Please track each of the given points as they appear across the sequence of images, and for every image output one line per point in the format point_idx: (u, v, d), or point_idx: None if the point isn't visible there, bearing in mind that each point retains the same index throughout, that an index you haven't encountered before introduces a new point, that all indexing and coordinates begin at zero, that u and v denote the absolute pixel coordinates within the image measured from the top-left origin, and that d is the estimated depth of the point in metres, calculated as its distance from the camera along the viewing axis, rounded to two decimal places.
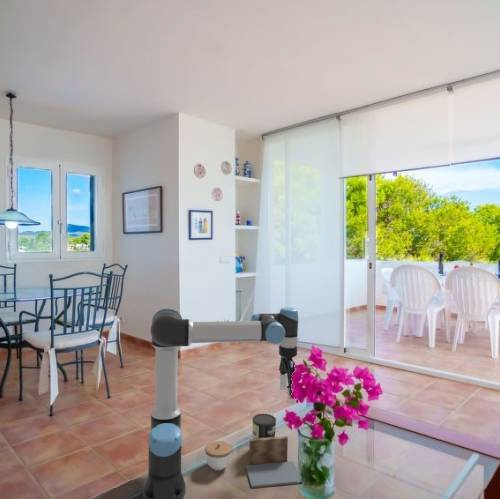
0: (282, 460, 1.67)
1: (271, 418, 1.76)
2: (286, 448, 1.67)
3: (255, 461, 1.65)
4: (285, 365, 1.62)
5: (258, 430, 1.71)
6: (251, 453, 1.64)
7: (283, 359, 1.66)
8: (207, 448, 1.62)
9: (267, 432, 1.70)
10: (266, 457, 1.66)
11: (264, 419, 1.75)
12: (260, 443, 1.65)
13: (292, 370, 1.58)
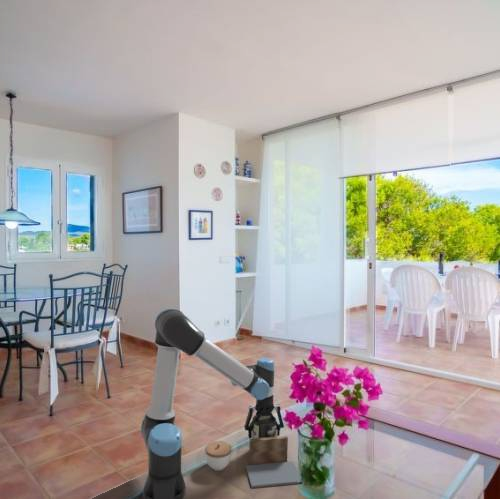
0: (282, 460, 1.67)
1: None
2: (286, 448, 1.67)
3: (255, 461, 1.65)
4: None
5: (258, 430, 1.71)
6: (251, 453, 1.64)
7: None
8: (207, 448, 1.62)
9: (267, 432, 1.70)
10: (266, 457, 1.66)
11: (264, 419, 1.75)
12: (260, 443, 1.65)
13: (248, 414, 1.73)
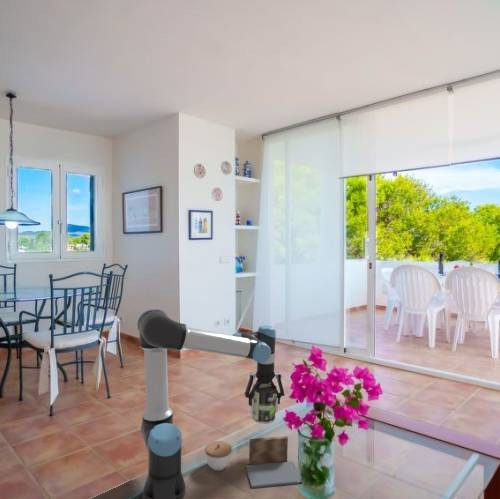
0: (282, 460, 1.67)
1: None
2: (286, 448, 1.67)
3: (255, 461, 1.65)
4: None
5: (259, 397, 1.70)
6: (251, 453, 1.64)
7: None
8: (207, 448, 1.62)
9: (267, 399, 1.69)
10: (266, 457, 1.66)
11: (264, 387, 1.74)
12: (260, 443, 1.65)
13: (249, 381, 1.73)
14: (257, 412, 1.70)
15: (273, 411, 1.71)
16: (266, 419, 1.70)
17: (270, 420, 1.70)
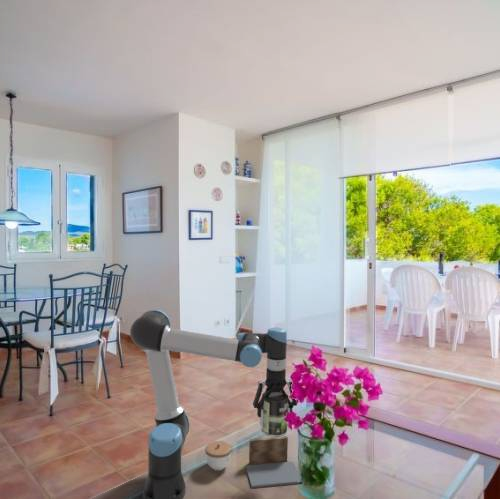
0: (282, 460, 1.67)
1: None
2: (286, 448, 1.67)
3: (255, 461, 1.65)
4: None
5: (269, 408, 1.52)
6: (251, 453, 1.64)
7: None
8: (207, 448, 1.62)
9: (278, 410, 1.52)
10: (266, 457, 1.66)
11: (275, 396, 1.56)
12: (260, 443, 1.65)
13: (258, 390, 1.55)
14: (267, 424, 1.53)
15: (285, 423, 1.54)
16: (278, 432, 1.52)
17: (282, 433, 1.53)
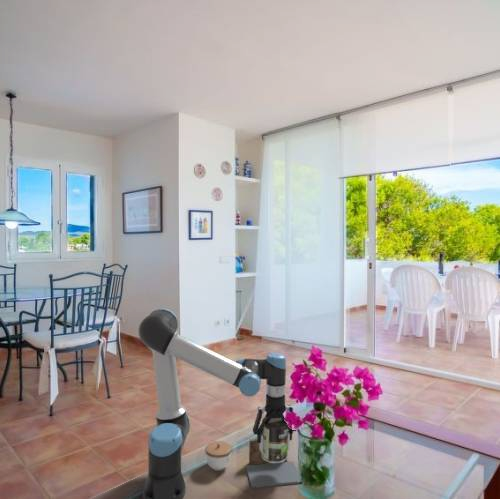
0: None
1: (282, 420, 1.58)
2: None
3: (255, 461, 1.65)
4: None
5: (269, 434, 1.53)
6: (251, 453, 1.64)
7: None
8: (207, 448, 1.62)
9: (278, 436, 1.52)
10: None
11: (274, 421, 1.57)
12: None
13: (257, 416, 1.55)
14: (267, 450, 1.53)
15: (285, 449, 1.54)
16: (278, 458, 1.52)
17: (282, 459, 1.53)
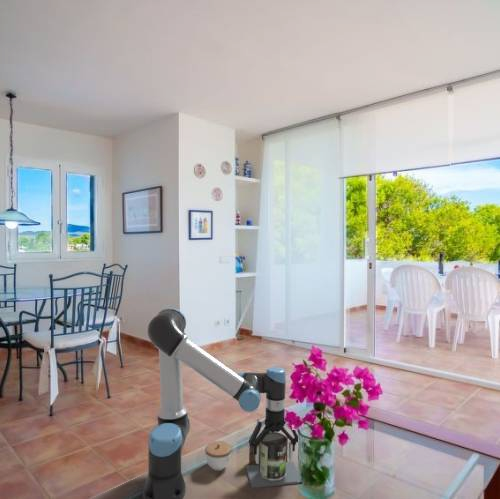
0: None
1: (281, 437, 1.58)
2: (286, 448, 1.67)
3: (255, 461, 1.65)
4: None
5: (267, 451, 1.53)
6: (251, 453, 1.64)
7: None
8: (207, 448, 1.62)
9: (276, 454, 1.52)
10: None
11: (273, 438, 1.57)
12: (260, 443, 1.65)
13: (256, 428, 1.55)
14: (265, 467, 1.54)
15: (283, 466, 1.55)
16: (276, 475, 1.53)
17: (280, 476, 1.54)
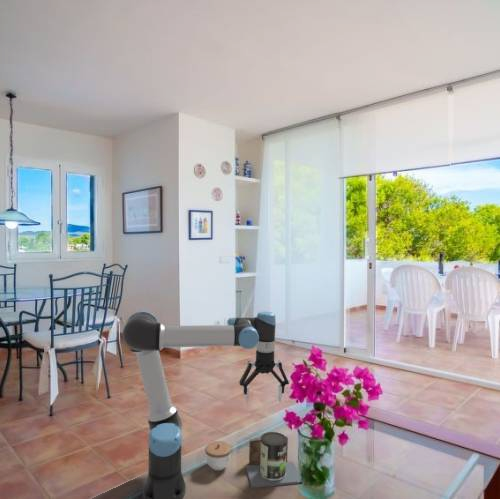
0: None
1: (281, 437, 1.58)
2: (286, 448, 1.67)
3: (255, 461, 1.65)
4: None
5: (268, 451, 1.53)
6: (251, 453, 1.64)
7: None
8: (207, 448, 1.62)
9: (277, 454, 1.52)
10: None
11: (273, 438, 1.57)
12: (260, 443, 1.65)
13: (246, 369, 1.62)
14: (265, 467, 1.54)
15: (283, 466, 1.55)
16: (276, 475, 1.53)
17: (280, 476, 1.54)
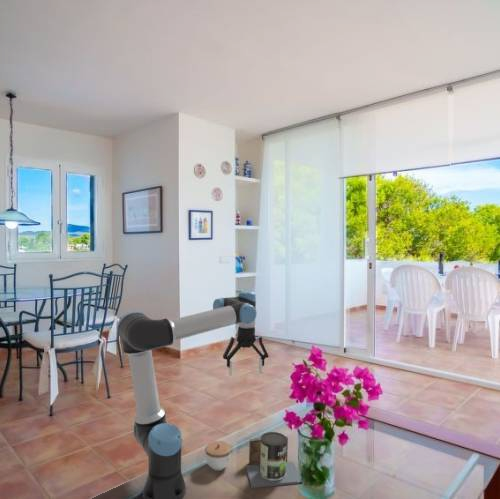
0: None
1: (281, 437, 1.58)
2: (286, 448, 1.67)
3: (255, 461, 1.65)
4: None
5: (268, 451, 1.53)
6: (251, 453, 1.64)
7: None
8: (207, 448, 1.62)
9: (277, 454, 1.52)
10: None
11: (273, 439, 1.57)
12: (260, 443, 1.65)
13: (229, 344, 1.75)
14: (265, 467, 1.54)
15: (283, 466, 1.55)
16: (276, 475, 1.53)
17: (280, 476, 1.54)
